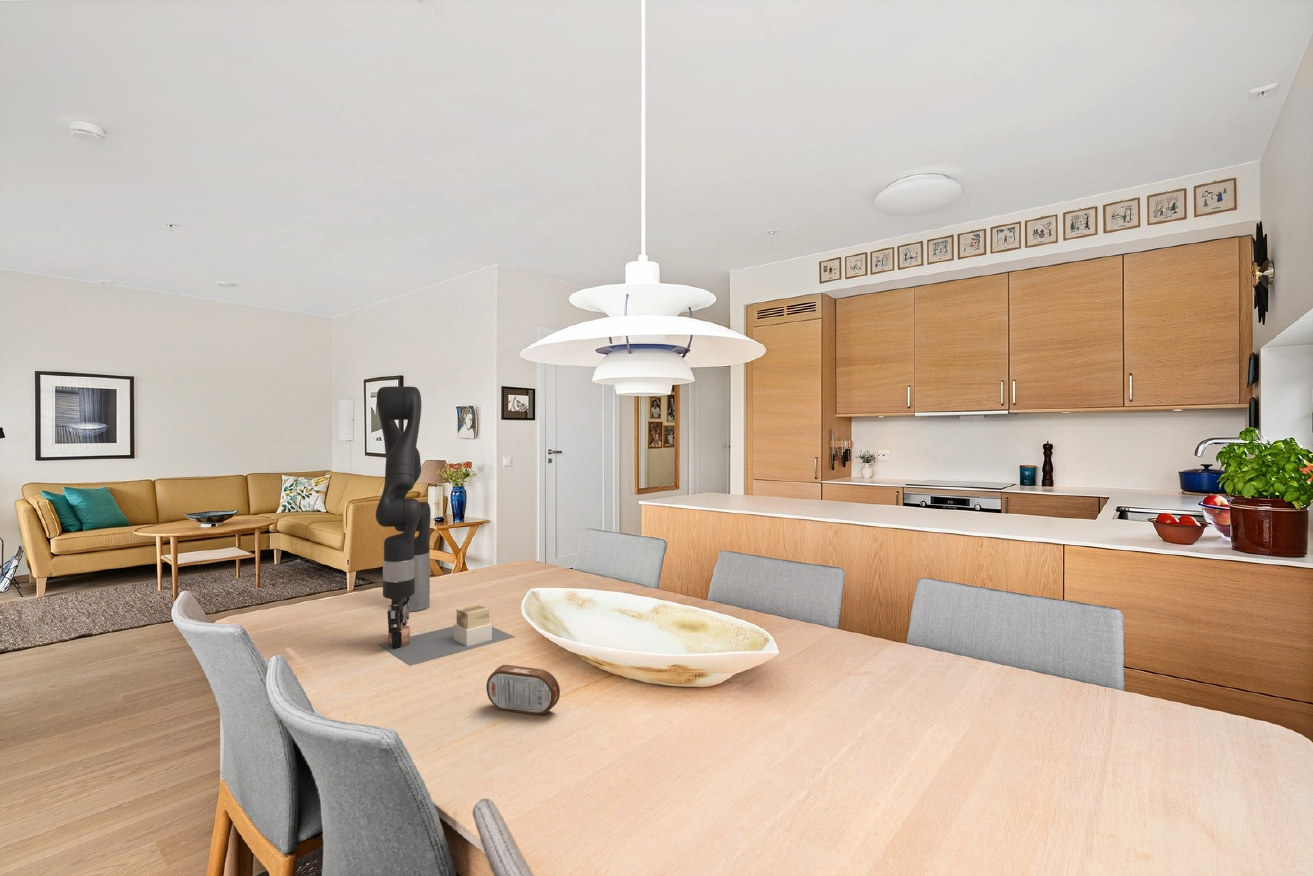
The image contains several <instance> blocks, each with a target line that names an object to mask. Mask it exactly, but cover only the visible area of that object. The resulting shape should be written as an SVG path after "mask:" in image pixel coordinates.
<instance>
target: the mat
mask: <svg viewBox="0 0 1313 876" xmlns="http://www.w3.org/2000/svg"><path fill="white" fill-rule="evenodd" d="M513 638H516V636H515V635H513V634H510V633H508V632H506V631H503V630H501V629H498V628H496V627H494V626H492V640H489V641H485V642H481V643H478V644H474V645H470V646H465V645H463V644H461V643H459V642H457V641H455V640H454V625H453V626H448V627H444V628H441V629H440V628H439V629H436V630H433V631H428V632H424V633H423V632H422V633H419V634H416V635H410V644H409V645H407V646H404V647H400V648H391V647H389V646H388V641H386V642H381V643H377V644H376V645H377V646H378V647H380V648H381V649H383V650H384V651H386V652H387V653H389V654H390V655H392V656H393V657H395V658H397V659H399V660H400V661H402V662H403V663H404V664H406V665H408V666H409V667H411V666H414V665H419V664H422V663H425V662H430V661H434V660H438V659H441V658H445V657H448V656H452V655H455V654H459V653H462V652H466V651H470V650H473V649H476V648H482V647H484V646H487V645H491V644H496V643H499V642H503V641H506V640H510V639H513Z"/></svg>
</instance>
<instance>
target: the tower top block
mask: <svg viewBox="0 0 1313 876" xmlns="http://www.w3.org/2000/svg"><path fill="white" fill-rule="evenodd" d="M489 623H490V608H487V607H485V606H483V605H480V604H478V603H477V604H473V605H469V606H463V607H460V608H456V624H457V625H459V626H461V627H463V628H465V629H472V628H476V627H480V626H484V625H488V624H489Z"/></svg>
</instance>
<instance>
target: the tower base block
mask: <svg viewBox="0 0 1313 876" xmlns="http://www.w3.org/2000/svg"><path fill="white" fill-rule="evenodd" d="M453 626H454V640H455V641H457V642H459V643H461V644H463V645H465V646H470V645H474V644H478V643H481V642H485V641H489V640H492V627H493V624H492V623H491V622H489V624H488V625H484V626H480V627H476V628H472V629H465V628H463V627H461V626H459V625H457V623H454V624H453Z"/></svg>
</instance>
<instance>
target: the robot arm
mask: <svg viewBox="0 0 1313 876" xmlns="http://www.w3.org/2000/svg"><path fill="white" fill-rule="evenodd" d="M376 406H377V413H378V416H379V422H380V425H381V431H382V436H383V442H384V451H385V466H384V467H385V468H384V471H385V472H384V475H385V476H384V484H383V490H382V493H381V496H380V499H379V501H378V504H377V507H376V510H375V519H376V522H377V523H378V524H379V526H381V527H384V528H385V527H386V528H388V527H389V528H391V527H392V528H393V527H394V529H395V530H396V531H397V532H400V533H397V534H394V535H390V536H388V537H386V538H385V539H384V541H383V566H382V596H383V598H385V599H387V600H388V599H389V600H391V603H390V604H389V605H388V610H387V612H386V613H387V625H388V626H387V628H388V629H389V630H388V632H389V633H392V648H400V647H401V646H402V625H405V626H408V621H409V619H410V612H417V611H423V610H426V609H428V608H429V607H430V606H431V604H430V603H431V600H430V598H431V597H430V596H431V595H430V594H431V590H430V588H431V583H430V582H431V581H430V580H431V576H430V575H431V570H430V569H431V568H430V567H431V566H430V564H431V563H430V562H431V561H430V557H431V556H430V553H431V552H430V542H431V541H430V534H431V533H430V531H431V506H430V504H429V502H427V501H419V500H418V499H416V498H414V497H406V496H407V494H408V493H409V492H410V491H411V490H413V489H414V486H415V484H416V482H417V481H418V480H419V479H420V476H421V474H422V465H421V464H422V463H421V453H420V451H419V449H418V448H417V443H418V438H419V431H420V423H421V418H422V415H421V414H422V396H421V392H420V390H419V388H418V387H416V386H410V385H409V386H406V385H405V386H399V385H398V386H391V385H390V386H381V387H380V388H379V389H378V390H377V393H376ZM405 420H406V421H407V422H406V427H405V429H404V430H403V432H402V431H401V430H400V428H399V427H398V424H397V423H396V421H405ZM416 532H418V535H417V536H416ZM395 626H397V628H394V627H395ZM388 632H387V633H388Z"/></svg>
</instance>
